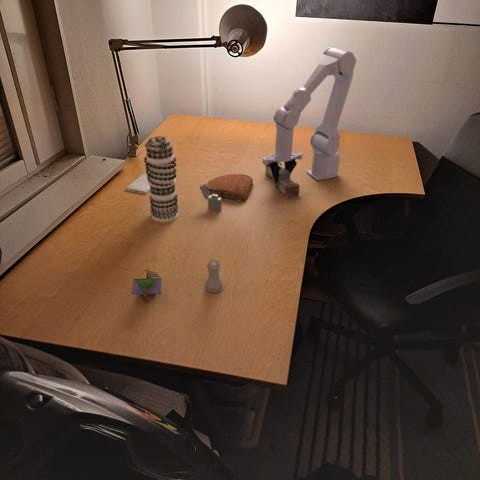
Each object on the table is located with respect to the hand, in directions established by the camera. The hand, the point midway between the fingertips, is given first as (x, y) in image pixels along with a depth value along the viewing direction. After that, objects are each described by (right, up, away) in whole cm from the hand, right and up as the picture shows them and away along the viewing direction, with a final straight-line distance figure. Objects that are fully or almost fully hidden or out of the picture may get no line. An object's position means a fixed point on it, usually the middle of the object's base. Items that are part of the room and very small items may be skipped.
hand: (281, 180), depth 160 cm
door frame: (-1, 0, +3) cm, 3 cm away
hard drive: (-48, -2, 0) cm, 48 cm away
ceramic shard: (-18, -4, -2) cm, 19 cm away
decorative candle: (-38, -14, -18) cm, 44 cm away
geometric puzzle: (-37, -35, -50) cm, 71 cm away
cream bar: (-2, +2, +6) cm, 6 cm away
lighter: (-24, -11, -14) cm, 30 cm away
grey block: (0, -1, 0) cm, 1 cm away
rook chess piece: (-21, -33, -47) cm, 61 cm away
